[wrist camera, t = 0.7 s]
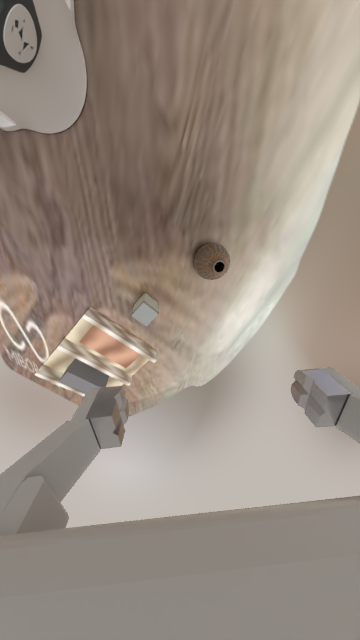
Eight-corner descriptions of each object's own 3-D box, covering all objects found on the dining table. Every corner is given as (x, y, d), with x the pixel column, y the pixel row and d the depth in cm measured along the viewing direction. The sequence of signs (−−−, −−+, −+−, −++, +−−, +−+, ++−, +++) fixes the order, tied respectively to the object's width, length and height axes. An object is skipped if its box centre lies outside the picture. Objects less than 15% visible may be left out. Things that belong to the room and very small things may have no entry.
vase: (199, 280, 41) (208, 292, 33) (186, 251, 38) (194, 258, 30) (226, 265, 40) (243, 275, 32) (216, 235, 37) (231, 238, 29)
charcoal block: (67, 366, 47) (58, 381, 42) (75, 357, 46) (67, 371, 41) (101, 383, 51) (96, 398, 46) (109, 375, 50) (104, 389, 45)
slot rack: (43, 363, 46) (34, 375, 43) (90, 306, 41) (84, 314, 37) (109, 394, 55) (106, 406, 51) (156, 350, 49) (156, 360, 45)
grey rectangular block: (134, 304, 42) (131, 315, 36) (145, 292, 41) (143, 302, 35) (147, 314, 43) (146, 326, 38) (158, 303, 42) (158, 314, 37)
